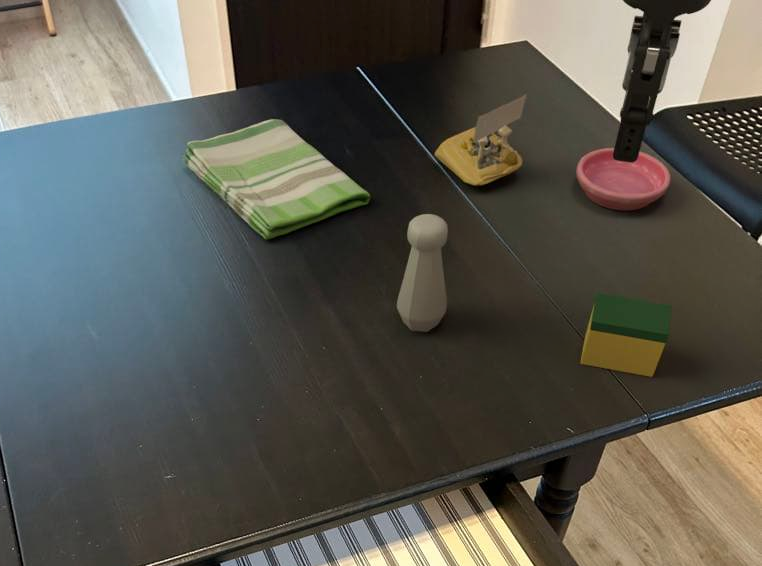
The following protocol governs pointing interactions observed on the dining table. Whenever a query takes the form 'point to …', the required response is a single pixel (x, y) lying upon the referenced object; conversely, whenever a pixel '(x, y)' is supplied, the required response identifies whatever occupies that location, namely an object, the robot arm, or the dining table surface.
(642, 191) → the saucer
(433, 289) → the salt shaker
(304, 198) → the dish towel
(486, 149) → the yellow base with figure
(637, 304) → the sponge
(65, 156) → the dining table surface
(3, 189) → the dining table surface
